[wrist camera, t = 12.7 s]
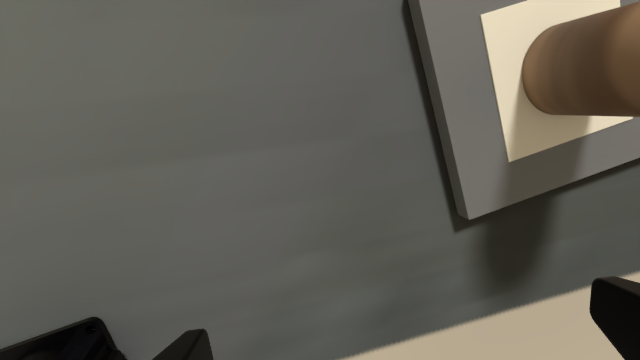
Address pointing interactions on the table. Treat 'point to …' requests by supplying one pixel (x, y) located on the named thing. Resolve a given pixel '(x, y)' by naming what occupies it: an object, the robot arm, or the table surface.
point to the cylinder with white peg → (587, 65)
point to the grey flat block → (508, 103)
